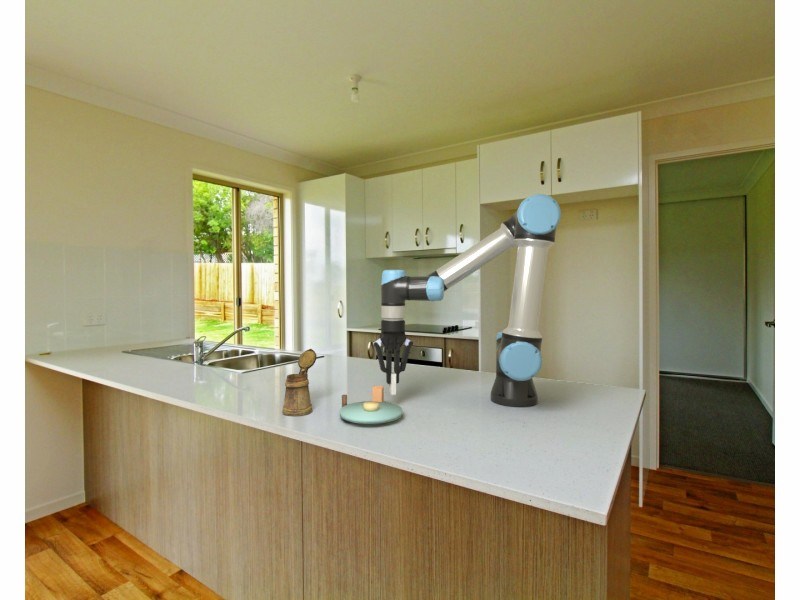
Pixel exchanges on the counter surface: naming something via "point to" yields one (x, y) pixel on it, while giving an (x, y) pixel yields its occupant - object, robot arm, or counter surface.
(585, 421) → the counter surface
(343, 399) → the dowel
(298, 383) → the wooden mug
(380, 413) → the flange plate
